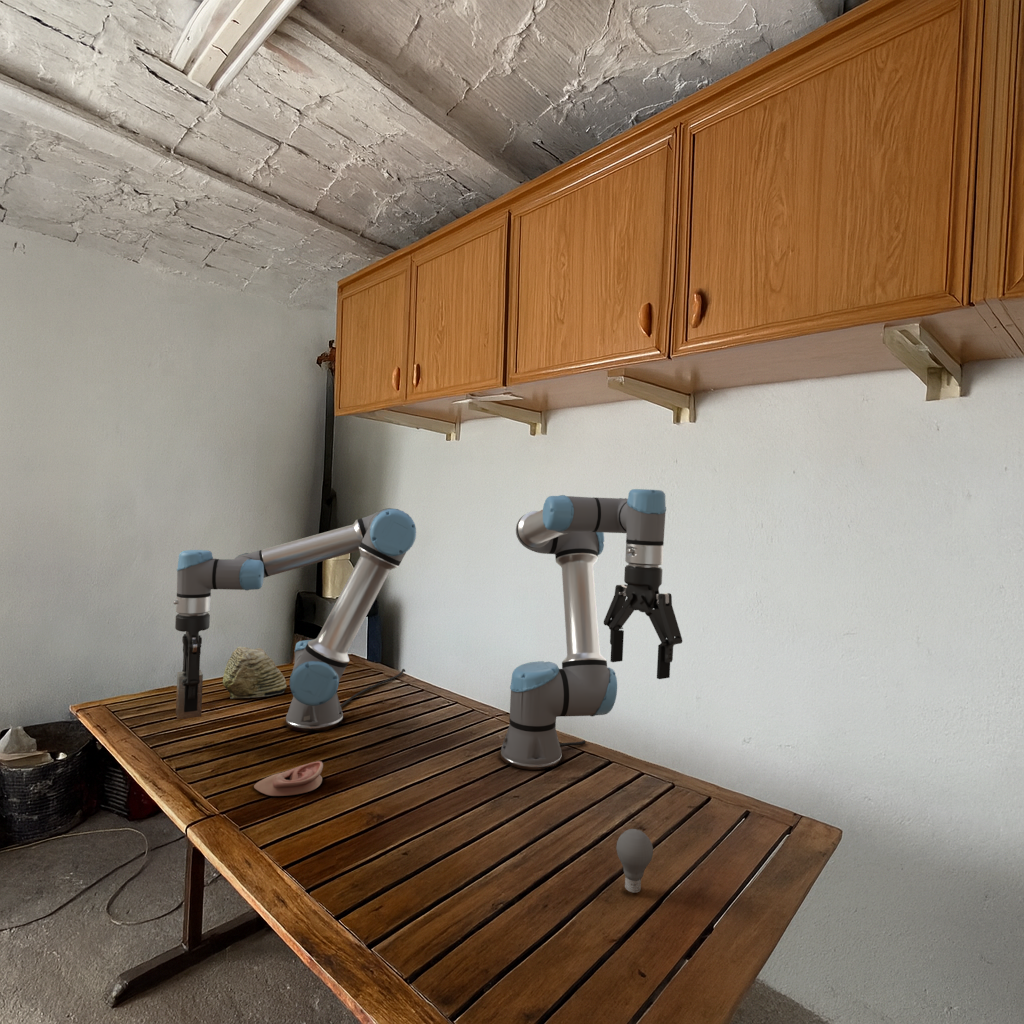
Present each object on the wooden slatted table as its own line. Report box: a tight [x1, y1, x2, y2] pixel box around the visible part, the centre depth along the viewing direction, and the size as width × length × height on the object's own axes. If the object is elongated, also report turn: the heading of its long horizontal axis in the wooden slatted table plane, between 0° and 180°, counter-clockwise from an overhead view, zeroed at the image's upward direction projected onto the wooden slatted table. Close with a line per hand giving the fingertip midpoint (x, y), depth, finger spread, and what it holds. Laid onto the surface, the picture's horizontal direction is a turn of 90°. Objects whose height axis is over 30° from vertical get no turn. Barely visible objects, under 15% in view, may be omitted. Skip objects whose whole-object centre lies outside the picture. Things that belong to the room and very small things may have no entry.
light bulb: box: [615, 828, 654, 894], centre depth 106 cm, size 6×6×10 cm
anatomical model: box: [253, 760, 324, 797], centre depth 138 cm, size 13×4×12 cm
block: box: [175, 669, 204, 721], centre depth 156 cm, size 5×5×10 cm
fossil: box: [222, 646, 288, 699], centre depth 198 cm, size 9×18×15 cm, turn 132°
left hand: (189, 707), depth 156 cm, fingers closed on block, 5 cm apart
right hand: (638, 669), depth 129 cm, fingers open, 13 cm apart
